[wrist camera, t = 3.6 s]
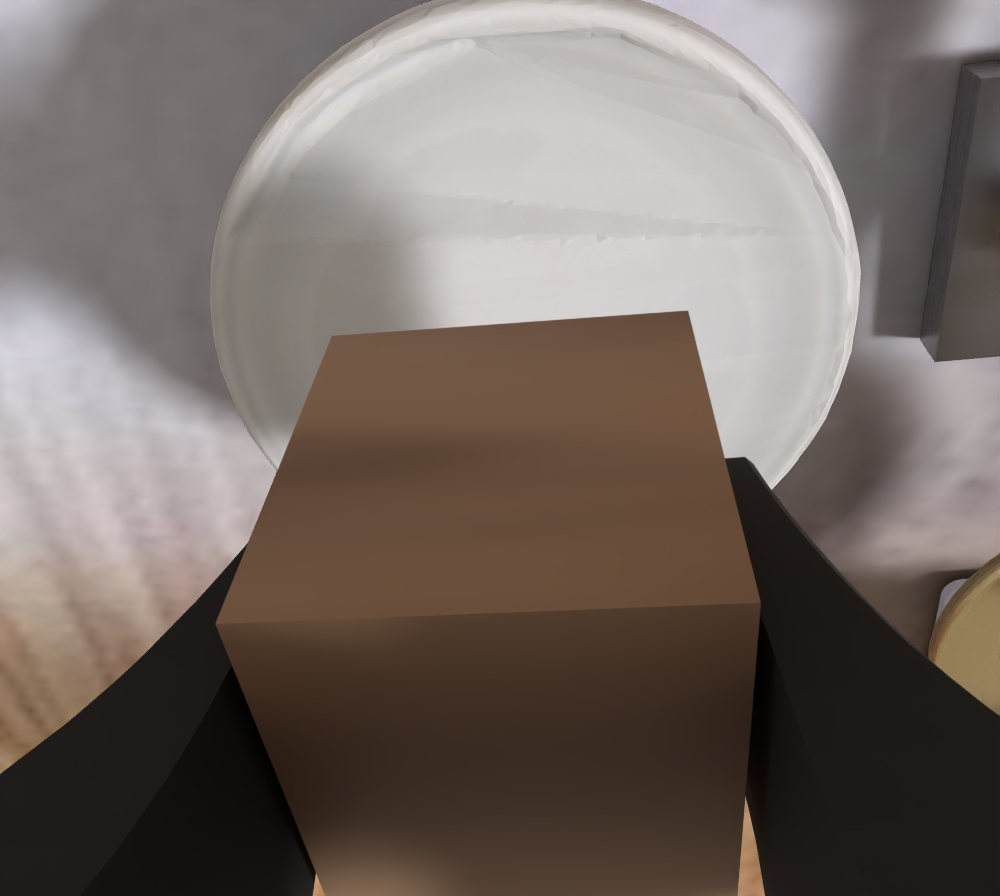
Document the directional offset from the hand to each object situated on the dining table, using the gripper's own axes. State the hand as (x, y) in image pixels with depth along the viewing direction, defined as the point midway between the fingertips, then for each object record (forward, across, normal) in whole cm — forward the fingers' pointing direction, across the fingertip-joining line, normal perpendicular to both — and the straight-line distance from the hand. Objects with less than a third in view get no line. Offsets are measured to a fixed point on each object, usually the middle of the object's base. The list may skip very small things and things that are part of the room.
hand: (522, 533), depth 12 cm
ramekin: (+10, 0, 0) cm, 10 cm away
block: (+1, 0, 0) cm, 1 cm away
